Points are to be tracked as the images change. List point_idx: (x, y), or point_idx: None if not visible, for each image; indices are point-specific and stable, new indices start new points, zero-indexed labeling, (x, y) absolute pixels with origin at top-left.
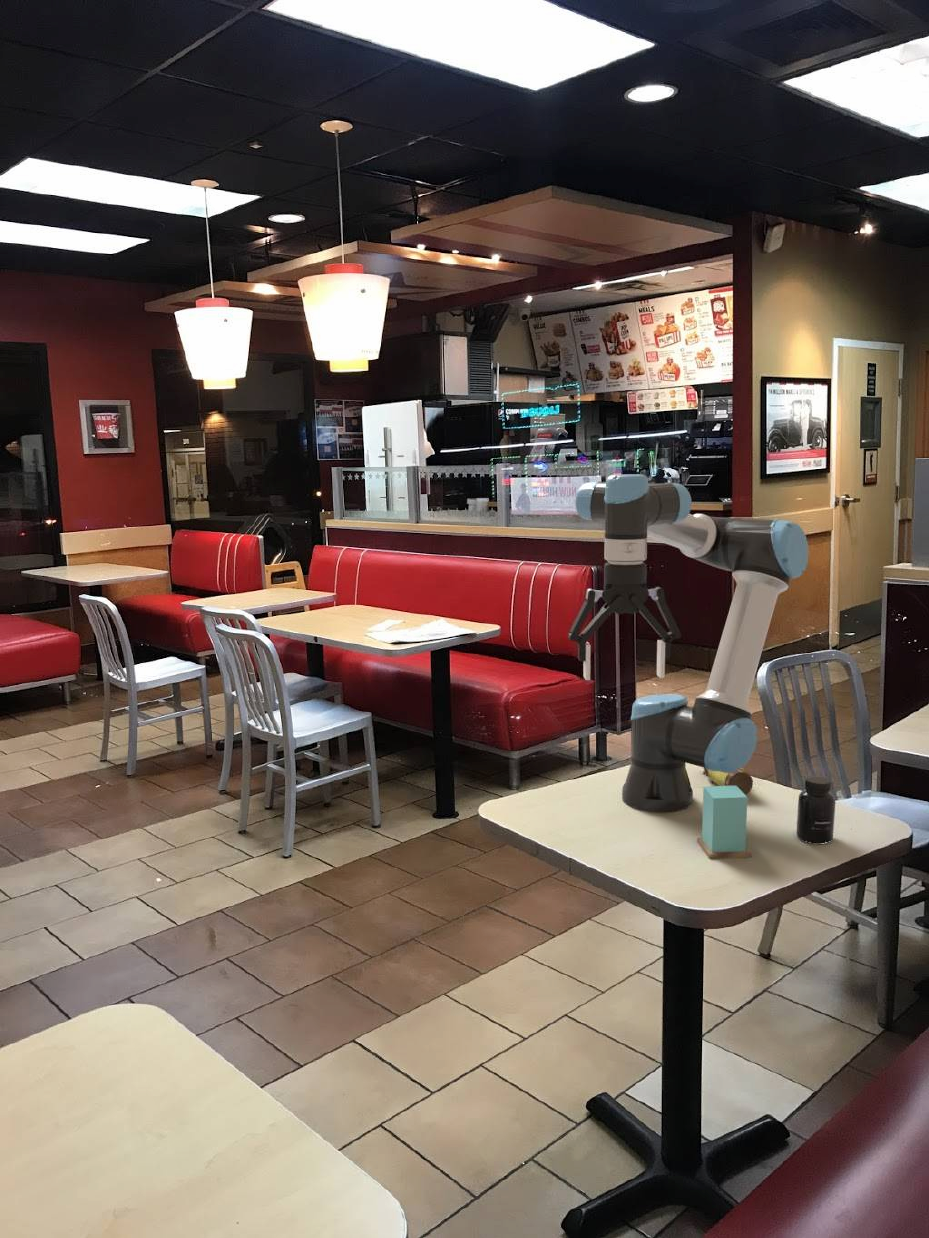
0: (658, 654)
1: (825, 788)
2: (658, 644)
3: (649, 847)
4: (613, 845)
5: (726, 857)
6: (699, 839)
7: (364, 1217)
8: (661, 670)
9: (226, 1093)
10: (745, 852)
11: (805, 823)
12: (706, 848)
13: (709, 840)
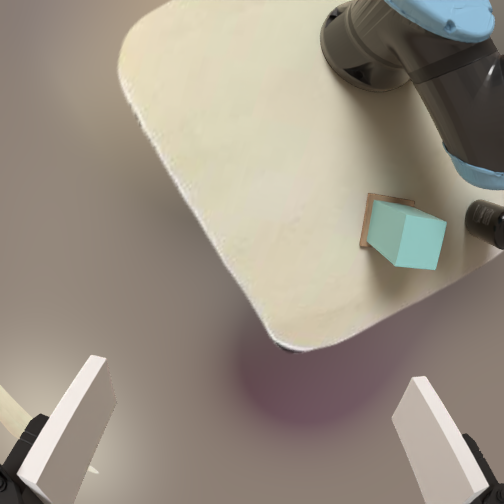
0: (437, 459)
1: None
2: (454, 492)
3: (302, 197)
4: (257, 181)
5: None
6: (370, 200)
7: (92, 470)
8: (403, 438)
9: (28, 417)
10: None
11: (477, 231)
12: (366, 228)
13: (372, 233)
